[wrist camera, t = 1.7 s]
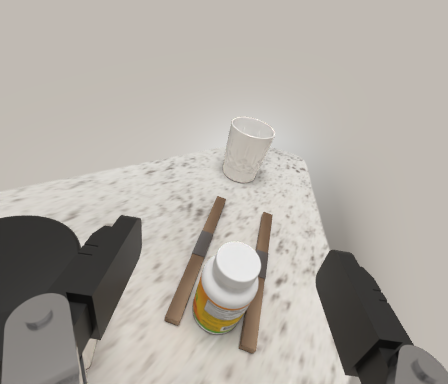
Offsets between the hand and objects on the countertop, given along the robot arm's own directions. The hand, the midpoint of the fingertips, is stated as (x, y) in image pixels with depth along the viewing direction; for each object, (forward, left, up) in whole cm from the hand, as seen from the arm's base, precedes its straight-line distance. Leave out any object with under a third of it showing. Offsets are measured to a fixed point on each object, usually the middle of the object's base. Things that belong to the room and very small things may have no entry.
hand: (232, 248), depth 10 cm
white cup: (+15, +29, -19) cm, 38 cm away
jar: (-11, +5, -19) cm, 22 cm away
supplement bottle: (+4, +5, -19) cm, 20 cm away
